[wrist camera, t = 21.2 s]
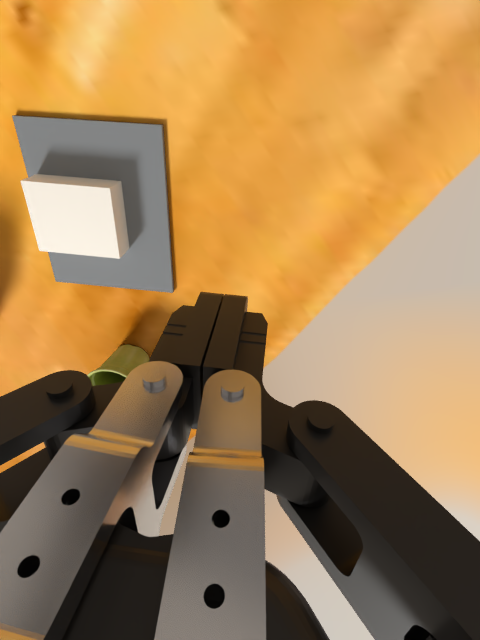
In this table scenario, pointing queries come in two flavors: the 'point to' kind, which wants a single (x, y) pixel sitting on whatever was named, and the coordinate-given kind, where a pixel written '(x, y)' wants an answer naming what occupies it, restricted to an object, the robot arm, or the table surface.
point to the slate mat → (137, 186)
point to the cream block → (77, 215)
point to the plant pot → (118, 365)
